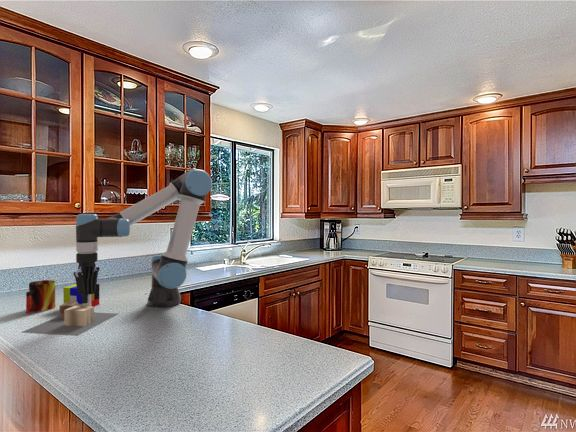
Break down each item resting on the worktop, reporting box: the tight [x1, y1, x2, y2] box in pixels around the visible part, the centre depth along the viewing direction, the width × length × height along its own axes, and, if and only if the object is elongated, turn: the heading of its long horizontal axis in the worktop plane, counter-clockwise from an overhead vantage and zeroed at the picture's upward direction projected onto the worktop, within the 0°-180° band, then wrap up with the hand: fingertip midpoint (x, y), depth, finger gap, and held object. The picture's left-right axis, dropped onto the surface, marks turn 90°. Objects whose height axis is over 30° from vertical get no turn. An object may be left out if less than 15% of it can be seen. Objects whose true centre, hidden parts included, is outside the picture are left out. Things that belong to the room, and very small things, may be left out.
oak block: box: [64, 306, 95, 326], centre depth 141 cm, size 8×6×6 cm
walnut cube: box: [58, 302, 78, 318], centre depth 150 cm, size 5×5×5 cm
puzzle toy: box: [62, 283, 100, 308], centre depth 163 cm, size 10×10×10 cm
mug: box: [25, 279, 56, 314], centre depth 158 cm, size 10×14×12 cm
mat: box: [21, 311, 119, 337], centre depth 143 cm, size 22×26×1 cm
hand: (87, 310), depth 146 cm, fingers closed
